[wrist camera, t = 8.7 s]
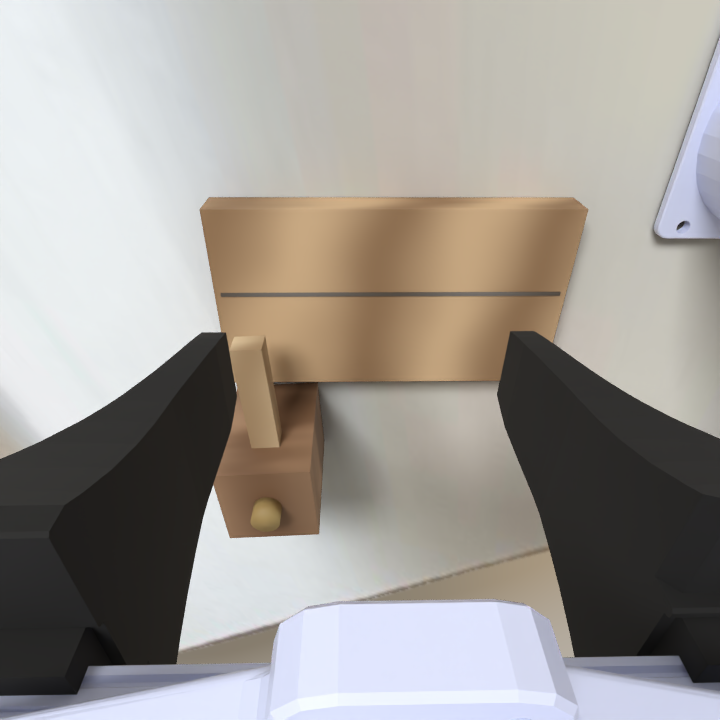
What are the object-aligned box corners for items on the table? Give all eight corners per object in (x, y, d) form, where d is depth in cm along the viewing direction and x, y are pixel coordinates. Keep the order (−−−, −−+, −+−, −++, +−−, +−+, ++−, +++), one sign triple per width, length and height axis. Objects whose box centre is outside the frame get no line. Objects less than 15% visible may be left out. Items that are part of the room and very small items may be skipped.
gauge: (307, 292, 22) (293, 385, 16) (324, 440, 27) (317, 549, 22) (217, 297, 22) (173, 391, 17) (251, 443, 27) (226, 553, 22)
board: (573, 197, 20) (588, 209, 19) (532, 361, 24) (543, 380, 23) (208, 197, 20) (199, 209, 18) (236, 363, 24) (229, 383, 23)
